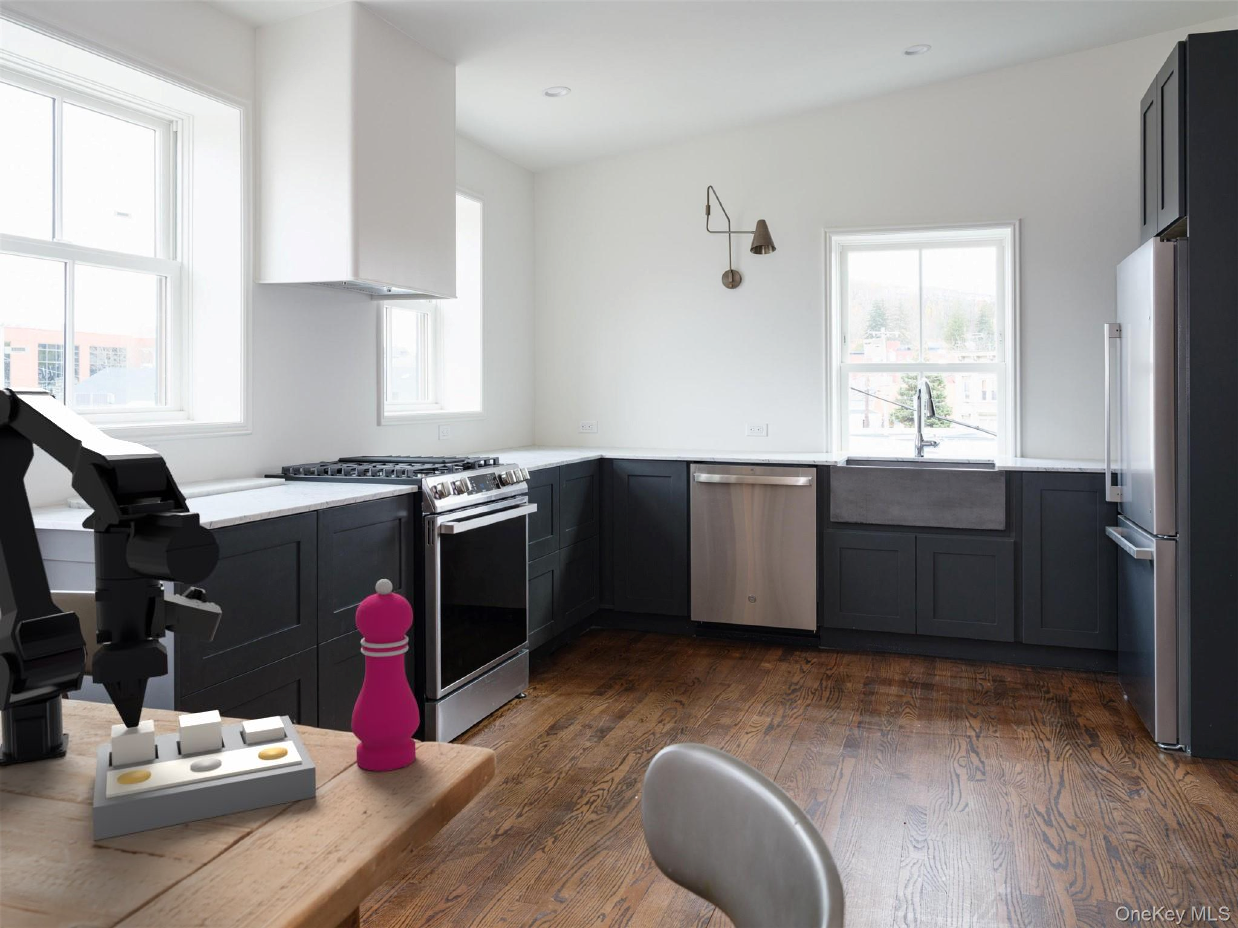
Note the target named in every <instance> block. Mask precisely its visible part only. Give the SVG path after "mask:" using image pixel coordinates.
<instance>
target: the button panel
mask: <svg viewBox="0 0 1238 928" xmlns="http://www.w3.org/2000/svg"><path fill="white" fill-rule="evenodd" d="M279 717H280V719H281V721H282V723H283V725H284V738H280V739H274V740H268V741H262V742H256V743H250V744H244V743H243V734H242V722H237V723H231V724H224V725H221V731H222V748H220V749H214V750H208V751H202V752H195V753H189V754H183V755H181V750H180V739H179V732H178V731H177V732H173V733H166V734H160V735H159V734H158V735H155V759H153V760H147V761H141V762H135V763H129V764H123V765H117V766H112V742H108V743H101V744H97V748H96V751H97V752H96V762H95V763H96V764H95V775H94V776H95V777H94V787H93V788H94V790H93V802H92V803H93V804H92V816H93V817H92V820H93V841H95V842H96V841H99V840H103V839H109V838H114V837H119V836H125V835H129V834H135V833H139V832H145V831H150V830H155V829H160V828H165V827H169V826H173V825H174V826H175V825H179V824H185V823H191V822H195V821H199V820H200V821H201V820H205V819H210V818H215V817H220V816H225V815H230V814H236V813H240V812H246V811H251V810H256V809H261V808H266V807H271V806H275V805H281V804H286V803H292V802H295V801H302V800H306V799H310V798H311V799H312V798H316V797H317V788H316V787H317V785H316V783H317V782H316V780H317V779H316V778H317V777H316V773H317V772H316V766H315V764H314V762H313V760H312V759H311V756H310V754H309V753H308V751H307V749H306V747H305V745H304V743H303V741H302V739H301V737H300V735H299V733H298V732H297V730H296V728H295V726H294V725H293V723H292V721H291V719H290V717H289V715H283V716H279Z"/></svg>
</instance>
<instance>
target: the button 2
mask: <svg viewBox="0 0 1238 928" xmlns="http://www.w3.org/2000/svg"><path fill="white" fill-rule="evenodd" d="M280 717H281V716H280V715H277V716H270V717H264V718H258V719H251V720H246V721H241V723H242V734H243V743H244V744H250V743H256V742H262V741H268V740H274V739H280V738H284V725H283V723H282V721H281V719H280Z"/></svg>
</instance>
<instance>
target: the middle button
mask: <svg viewBox="0 0 1238 928" xmlns="http://www.w3.org/2000/svg"><path fill="white" fill-rule="evenodd" d="M221 726H222V719H221V715H220V712H219V710H218V709H216V710H210V711H203V712H197V713H190V714H182V715H179V716H178V731H179V739H180V750H181V755H183V754H189V753H195V752H202V751H208V750H214V749H220V748H222V731H221Z"/></svg>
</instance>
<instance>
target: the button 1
mask: <svg viewBox="0 0 1238 928" xmlns="http://www.w3.org/2000/svg"><path fill="white" fill-rule="evenodd" d="M154 723H155V721H154V719H148V720H142V721H141V720H140V722H139V726H138V727H134V728H127V727H126V726H125V724H124V723H121V724H115V725H114V724H113V725H111V736H110V739H111V742H110V743H112V766H117V765H123V764H129V763H135V762H141V761H147V760H153V759H155V736H156V735H155V734H156V733H155V724H154Z"/></svg>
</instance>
